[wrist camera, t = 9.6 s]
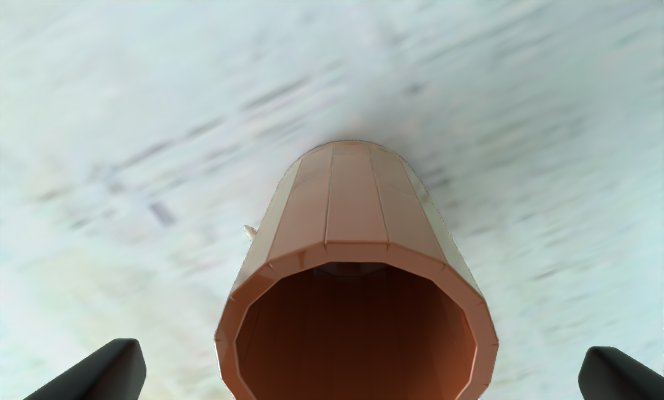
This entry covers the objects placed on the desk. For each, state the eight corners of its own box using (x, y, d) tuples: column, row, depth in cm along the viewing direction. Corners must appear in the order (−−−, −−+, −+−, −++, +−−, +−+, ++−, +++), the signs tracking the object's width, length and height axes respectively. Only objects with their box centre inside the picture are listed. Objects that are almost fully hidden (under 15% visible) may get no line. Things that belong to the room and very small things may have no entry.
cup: (419, 277, 15) (475, 455, 9) (279, 276, 15) (232, 449, 9) (433, 139, 13) (523, 243, 6) (268, 139, 13) (194, 239, 7)
